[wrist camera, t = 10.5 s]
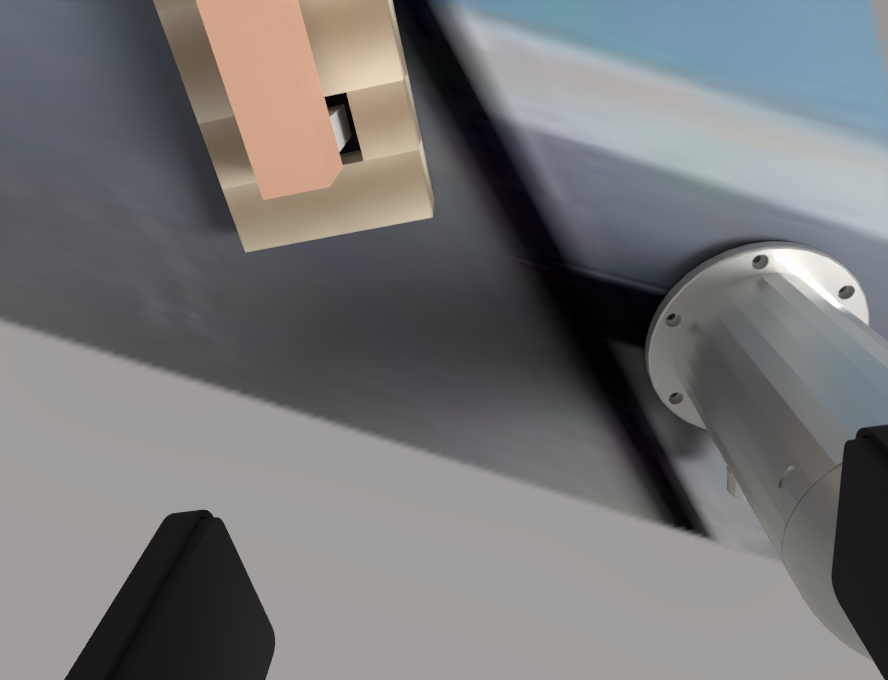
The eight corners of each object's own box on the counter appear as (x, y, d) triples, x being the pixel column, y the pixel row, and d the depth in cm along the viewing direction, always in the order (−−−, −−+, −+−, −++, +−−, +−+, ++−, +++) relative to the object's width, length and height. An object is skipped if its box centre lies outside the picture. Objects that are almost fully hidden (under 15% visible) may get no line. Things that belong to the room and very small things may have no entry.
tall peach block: (355, 149, 34) (329, 187, 27) (301, 159, 34) (262, 200, 28) (291, -97, 29) (241, -124, 22) (228, -82, 29) (160, -103, 22)
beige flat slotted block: (434, 200, 35) (432, 217, 32) (261, 233, 36) (245, 252, 34) (346, -217, 27) (334, -240, 24) (124, -157, 28) (89, -173, 25)
